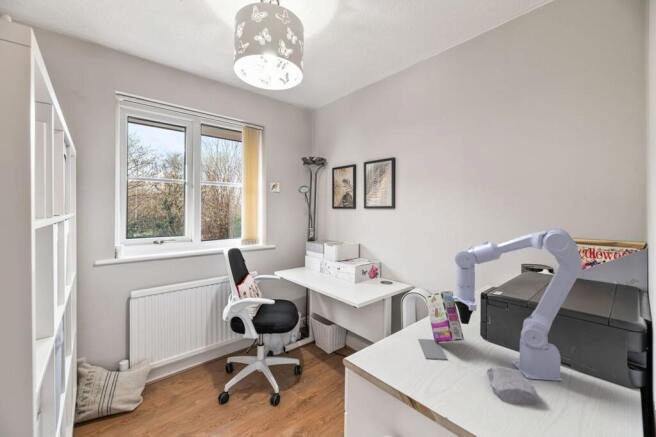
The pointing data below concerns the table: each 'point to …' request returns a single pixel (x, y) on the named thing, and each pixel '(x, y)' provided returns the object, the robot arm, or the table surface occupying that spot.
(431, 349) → the mat
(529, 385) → the stone block
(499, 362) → the table surface
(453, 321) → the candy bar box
